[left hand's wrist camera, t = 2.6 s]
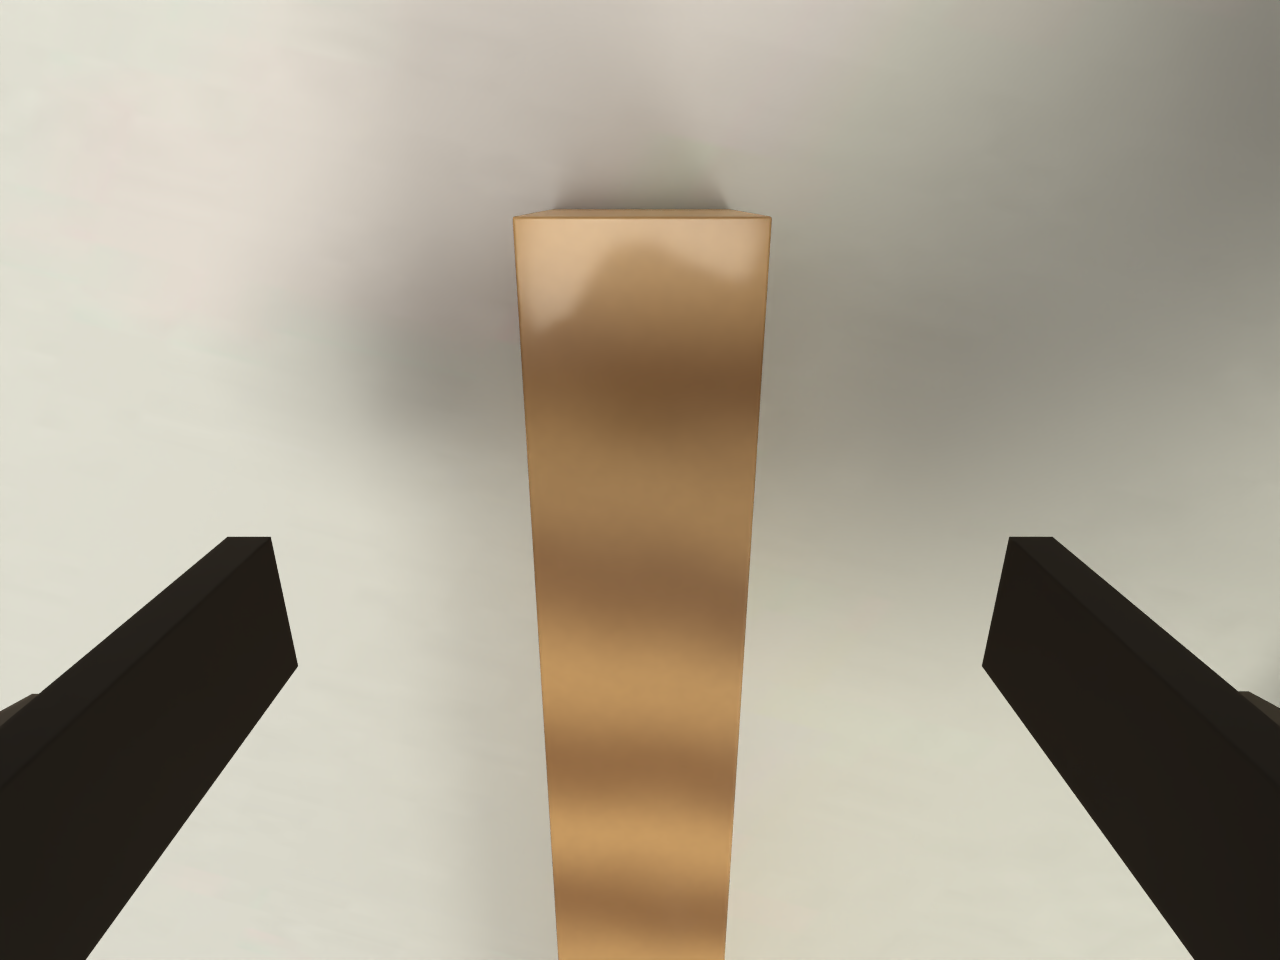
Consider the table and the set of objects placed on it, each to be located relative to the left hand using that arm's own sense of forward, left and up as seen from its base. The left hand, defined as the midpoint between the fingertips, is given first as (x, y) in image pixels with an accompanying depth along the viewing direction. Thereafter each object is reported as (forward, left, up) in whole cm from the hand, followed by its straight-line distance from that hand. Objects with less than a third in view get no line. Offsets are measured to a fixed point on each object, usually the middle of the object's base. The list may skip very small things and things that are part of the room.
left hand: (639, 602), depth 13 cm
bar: (+10, +30, -12) cm, 34 cm away
